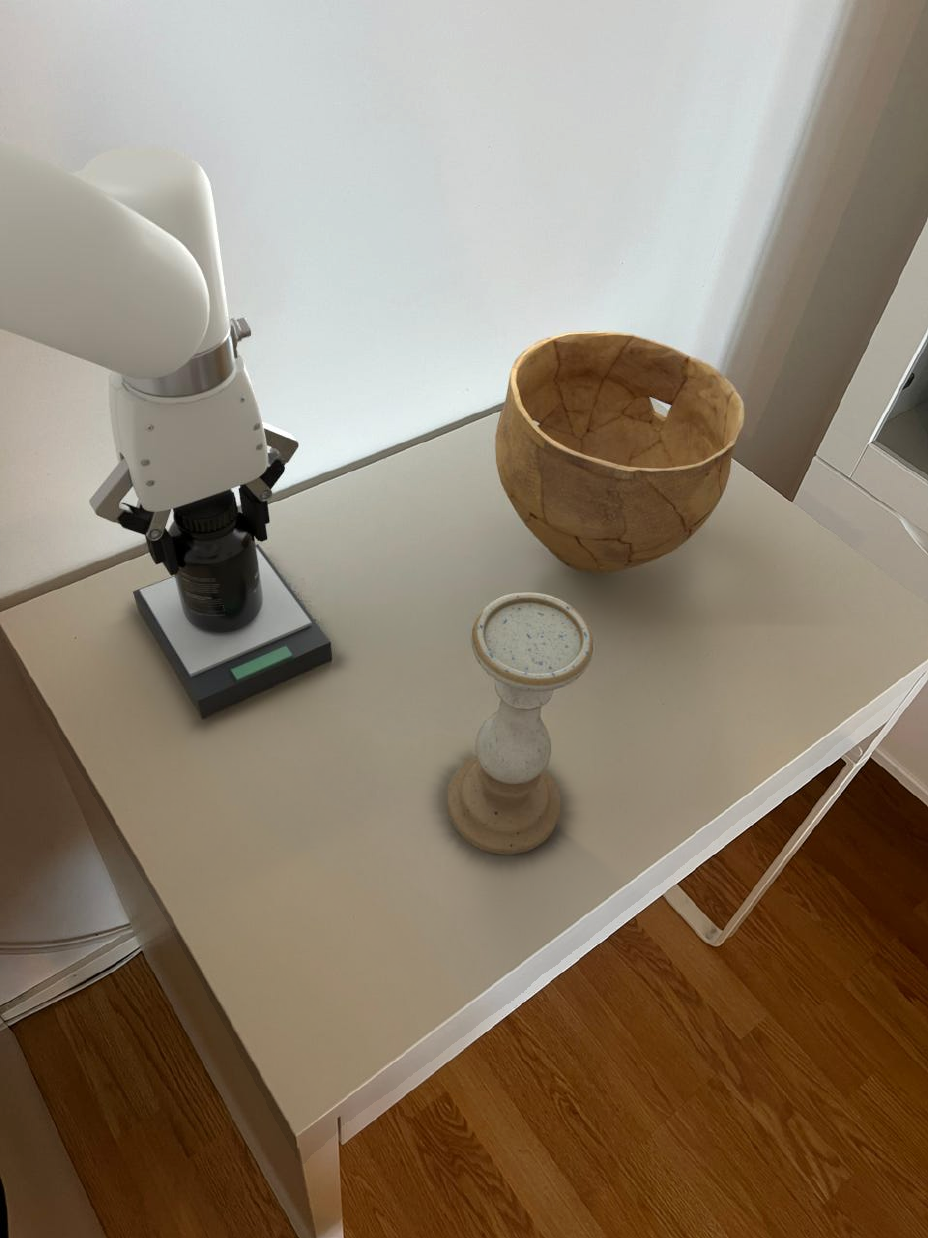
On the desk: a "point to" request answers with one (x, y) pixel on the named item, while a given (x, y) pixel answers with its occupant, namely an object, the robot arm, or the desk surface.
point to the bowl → (614, 447)
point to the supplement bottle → (216, 564)
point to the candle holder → (518, 721)
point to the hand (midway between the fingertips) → (212, 546)
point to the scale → (235, 643)
